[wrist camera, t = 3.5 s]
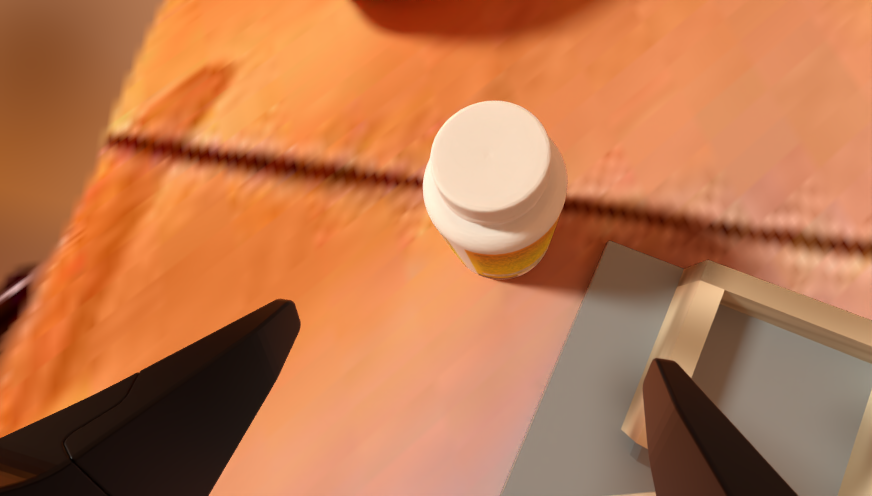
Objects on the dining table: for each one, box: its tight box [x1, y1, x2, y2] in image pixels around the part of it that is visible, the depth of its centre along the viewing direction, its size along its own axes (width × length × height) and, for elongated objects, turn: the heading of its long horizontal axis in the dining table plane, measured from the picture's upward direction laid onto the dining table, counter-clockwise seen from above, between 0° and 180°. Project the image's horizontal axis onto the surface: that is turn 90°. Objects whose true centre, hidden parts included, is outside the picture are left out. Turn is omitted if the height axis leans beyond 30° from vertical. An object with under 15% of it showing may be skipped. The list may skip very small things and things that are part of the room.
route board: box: [500, 240, 872, 496], centre depth 17 cm, size 18×14×2 cm
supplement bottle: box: [423, 101, 568, 280], centre depth 17 cm, size 6×6×10 cm
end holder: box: [621, 260, 872, 496], centre depth 16 cm, size 8×10×2 cm
